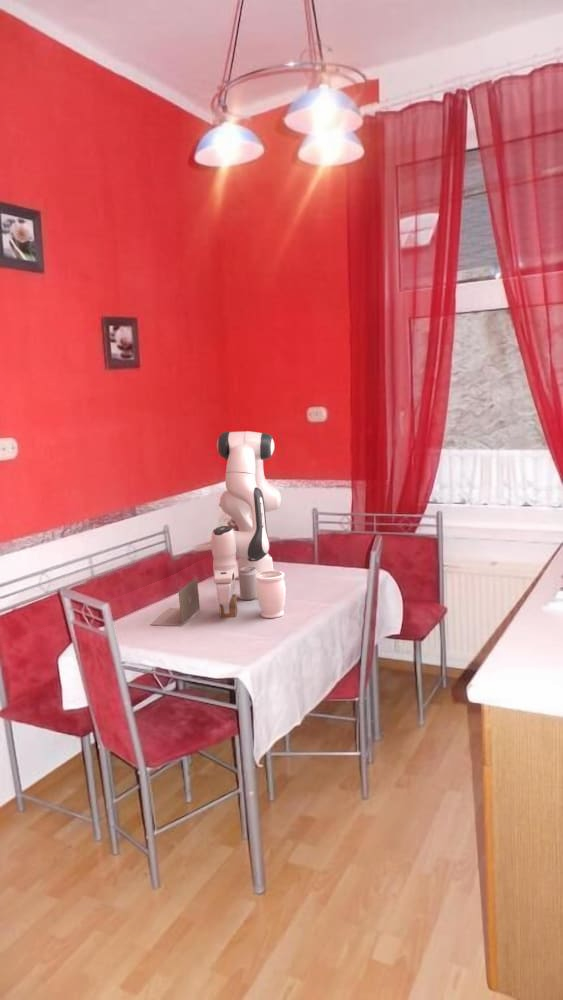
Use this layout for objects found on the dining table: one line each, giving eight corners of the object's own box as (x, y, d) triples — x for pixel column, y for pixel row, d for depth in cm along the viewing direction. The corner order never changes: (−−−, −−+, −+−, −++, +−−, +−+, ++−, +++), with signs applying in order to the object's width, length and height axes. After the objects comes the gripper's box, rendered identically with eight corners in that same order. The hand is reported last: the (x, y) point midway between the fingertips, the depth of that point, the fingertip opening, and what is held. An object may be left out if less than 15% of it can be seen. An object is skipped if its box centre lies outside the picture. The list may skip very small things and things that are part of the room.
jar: (284, 619, 251) (281, 578, 248) (255, 619, 253) (252, 578, 250) (289, 609, 261) (286, 570, 258) (261, 610, 263) (258, 570, 260)
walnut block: (222, 613, 262) (221, 594, 261) (237, 612, 262) (236, 593, 261) (220, 617, 257) (219, 599, 256) (235, 617, 257) (234, 598, 256)
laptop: (169, 609, 271) (166, 576, 269) (200, 610, 268) (197, 576, 266) (149, 626, 254) (146, 591, 251) (182, 627, 251) (179, 591, 248)
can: (257, 601, 274) (255, 570, 272) (238, 601, 275) (236, 571, 273) (261, 595, 281) (259, 565, 279) (243, 595, 282) (241, 565, 280)
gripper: (220, 564, 267) (223, 600, 270) (213, 580, 247) (216, 618, 250) (237, 563, 267) (240, 599, 269) (231, 579, 247) (234, 617, 249)
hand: (228, 608), depth 259 cm, fingers open, 8 cm apart
